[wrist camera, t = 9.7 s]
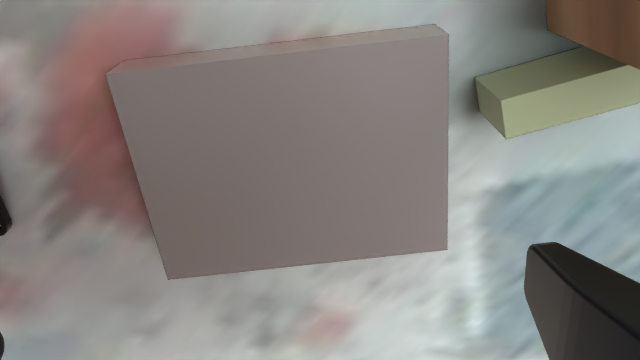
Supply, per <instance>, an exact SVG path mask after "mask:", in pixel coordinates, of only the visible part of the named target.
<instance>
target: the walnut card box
mask: <svg viewBox="0 0 640 360" xmlns="http://www.w3.org/2000/svg"><path fill="white" fill-rule="evenodd" d="M545 2H546V15H547V29H548V31H550V32H553V33H555V34H557V35H560V36H562V37H564V38H567V39H569V40H571V41H574V42H576V43H578V44H581V45H583V46H585V47H588V48H590V49H592V50H595V51H597V52H599V53H602V54H604V55H606V56H609V57H611V58H613V59H616V60H618V61H620V62H623V63H625V64H627V65H630V66H632V67H634V68H637V69H639V70H640V0H545Z"/></svg>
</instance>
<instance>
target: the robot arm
mask: <svg viewBox="0 0 640 360" xmlns="http://www.w3.org/2000/svg"><path fill="white" fill-rule="evenodd" d="M0 225H1V226H0V236H2V235H4V234H5V233H6V232H7V231H8V230H9V229H10V228H11V226H12V222H11V219H10V217H9V214H8V212H7V210H6V208H5V206H4V203H3V201H2V199H1V197H0ZM524 292H525V297H526V300H527V303H528V305H529V308H530V311H531V313H532V316H533V318H534V321H535V324H536V326H537V329H538V331H539V334H540V337H541V339H542V342H543V344H544V347H545V350H546V352H547V355H548V357H549V360H640V283H638V282H636V281H634V280H632V279H630V278H628V277H626V276H624V275H622V274H620V273H618V272H616V271H614V270H612V269H610V268H608V267H606V266H604V265H602V264H600V263H598V262H596V261H594V260H592V259H590V258H588V257H586V256H584V255H581V254H579V253H577V252H575V251H573V250H571V249H569V248H567V247H565V246H563V245H561V244H559V243H557V242H548V243H539V244H532V245H531V246H530V247H529V248H528V251H527V258H526V269H525V280H524ZM3 352H4V338H3V336H2V334H1V332H0V360H1V358H2V356H3Z"/></svg>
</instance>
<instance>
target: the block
mask: <svg viewBox="0 0 640 360" xmlns="http://www.w3.org/2000/svg"><path fill="white" fill-rule="evenodd" d="M475 82H476V89H477V95H478V102H479V108H480V112H481V113H482V114H483V115H484V116H485V117H486V119H487V120H488V121H489V122H490V123H491V124H492V125H493V126H494V127H495V128H496V129H497V130H498V131H499V132H500V133H501V134H502V135H503V136H504V138H505V139H509V138H512V137H516V136H520V135H523V134H527V133H531V132H534V131H538V130H542V129H545V128H549V127H553V126H557V125H560V124H564V123H568V122H571V121H575V120H579V119H582V118H586V117H590V116H593V115H597V114H601V113H604V112H608V111H612V110H616V109H619V108H623V107H627V106H630V105H634V104H638V103H640V70H639V69H637V68H634V67H632V66H630V65H627V64H625V63H623V62H620V61H618V60H616V59H613V58H611V57H609V56H606V55H604V54H602V53H599V52H597V51H595V50H592V49H590V48H588V47H585V46H583V47H579V48H576V49H572V50H569V51H565V52H562V53H558V54H555V55H551V56H548V57H544V58H541V59H537V60H534V61H530V62H527V63H523V64H520V65H516V66H513V67H509V68H506V69H502V70H499V71H495V72H492V73H488V74H485V75H481V76H478V77H475Z"/></svg>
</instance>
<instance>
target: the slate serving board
mask: <svg viewBox="0 0 640 360" xmlns="http://www.w3.org/2000/svg"><path fill="white" fill-rule="evenodd" d="M448 54H449V34H448V33H446V32H445V31H444V30H442V29H441V28H440V27H438V26H437V25H436V24H432V25H423V26H415V27H406V28H397V29H389V30H380V31H372V32H363V33H355V34H346V35H338V36H329V37H320V38H312V39H303V40H295V41H286V42H278V43H269V44H261V45H252V46H244V47H235V48H226V49H218V50H209V51H201V52H192V53H184V54H175V55H167V56H158V57H149V58H141V59H132V60H124V61H122V62H121V63H120V64H118V65H117V66H116V67H114V68H113V69H112V70H110V71H109V72H108V73H106V77H107V81H108V84H109V87H110V91H111V94H112V97H113V100H114V104H115V107H116V110H117V114H118V117H119V120H120V123H121V127H122V130H123V133H124V137H125V140H126V143H127V146H128V150H129V153H130V156H131V160H132V163H133V166H134V169H135V173H136V176H137V179H138V183H139V186H140V189H141V192H142V196H143V199H144V202H145V206H146V209H147V212H148V215H149V219H150V222H151V225H152V229H153V232H154V235H155V238H156V242H157V245H158V248H159V251H160V255H161V258H162V261H163V265H164V268H165V271H166V274H167V278H168V280H170V279H179V278H189V277H198V276H207V275H217V274H226V273H235V272H245V271H254V270H264V269H273V268H282V267H292V266H301V265H310V264H320V263H329V262H338V261H348V260H357V259H366V258H376V257H385V256H395V255H404V254H413V253H423V252H432V251H441V250H447V225H448Z"/></svg>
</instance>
